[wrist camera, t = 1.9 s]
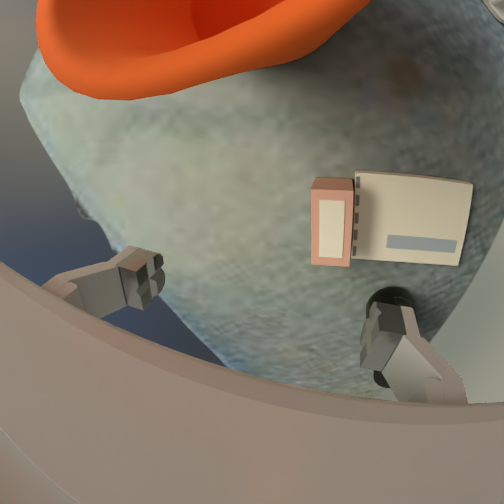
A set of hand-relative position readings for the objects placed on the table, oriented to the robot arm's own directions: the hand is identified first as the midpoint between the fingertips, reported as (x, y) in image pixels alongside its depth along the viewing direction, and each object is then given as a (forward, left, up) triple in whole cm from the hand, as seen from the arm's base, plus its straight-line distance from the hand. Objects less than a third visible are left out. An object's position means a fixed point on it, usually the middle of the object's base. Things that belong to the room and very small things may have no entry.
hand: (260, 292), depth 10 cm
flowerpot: (+4, -20, -23) cm, 31 cm away
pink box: (-2, +5, -23) cm, 23 cm away
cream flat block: (-11, +5, -23) cm, 26 cm away
